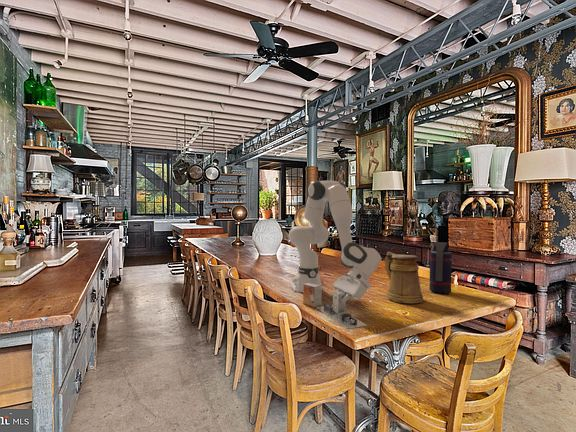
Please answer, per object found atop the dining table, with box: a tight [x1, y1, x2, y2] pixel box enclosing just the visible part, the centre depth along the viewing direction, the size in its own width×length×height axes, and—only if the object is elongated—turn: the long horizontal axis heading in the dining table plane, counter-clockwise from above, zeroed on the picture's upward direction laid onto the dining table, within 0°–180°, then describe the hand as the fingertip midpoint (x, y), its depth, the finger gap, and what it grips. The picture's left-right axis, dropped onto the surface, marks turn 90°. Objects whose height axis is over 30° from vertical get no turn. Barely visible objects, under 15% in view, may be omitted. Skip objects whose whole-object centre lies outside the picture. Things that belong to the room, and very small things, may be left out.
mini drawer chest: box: [332, 290, 347, 313], centre depth 154 cm, size 5×4×9 cm
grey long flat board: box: [315, 303, 368, 330], centre depth 154 cm, size 30×10×4 cm, turn 21°
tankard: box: [384, 251, 424, 304], centre depth 183 cm, size 18×24×25 cm
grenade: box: [428, 241, 453, 295], centre depth 197 cm, size 14×12×30 cm
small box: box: [302, 283, 323, 308], centre depth 172 cm, size 8×6×10 cm
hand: (338, 300), depth 153 cm, fingers closed on mini drawer chest, 5 cm apart
